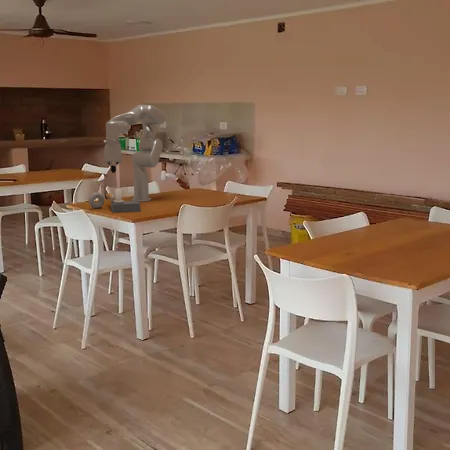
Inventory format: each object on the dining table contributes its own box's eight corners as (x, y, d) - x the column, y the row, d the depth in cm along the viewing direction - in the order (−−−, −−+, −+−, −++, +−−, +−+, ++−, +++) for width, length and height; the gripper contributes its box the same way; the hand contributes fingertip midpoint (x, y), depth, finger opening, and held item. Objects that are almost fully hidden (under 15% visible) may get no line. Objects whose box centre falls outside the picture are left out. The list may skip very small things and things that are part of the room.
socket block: (111, 209, 370) (110, 199, 368) (137, 208, 374) (137, 198, 373) (113, 212, 359) (112, 201, 358) (140, 211, 364) (140, 200, 362)
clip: (111, 199, 365) (110, 196, 364) (106, 196, 378) (105, 193, 378) (115, 199, 366) (114, 196, 365) (109, 196, 379) (109, 192, 379)
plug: (113, 210, 368) (112, 188, 365) (123, 209, 369) (122, 188, 367) (114, 211, 362) (113, 190, 359) (124, 211, 364) (124, 189, 361)
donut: (90, 209, 368) (89, 193, 366) (88, 209, 371) (87, 192, 369) (105, 208, 374) (105, 191, 372) (103, 207, 377) (102, 191, 375)
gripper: (99, 142, 365) (100, 173, 369) (124, 142, 367) (125, 173, 370) (100, 141, 372) (101, 172, 376) (125, 142, 374) (126, 172, 377)
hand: (113, 172), depth 373 cm, fingers closed
